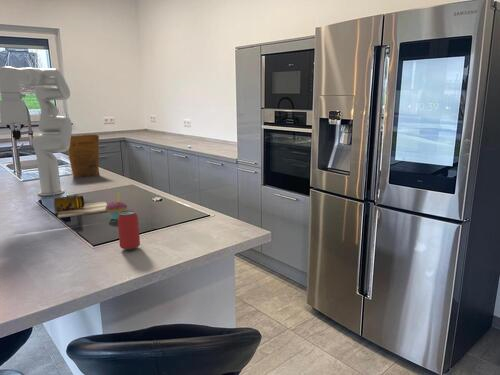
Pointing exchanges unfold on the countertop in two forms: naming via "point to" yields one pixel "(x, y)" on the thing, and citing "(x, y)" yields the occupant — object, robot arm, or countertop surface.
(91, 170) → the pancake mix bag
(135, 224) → the beer can
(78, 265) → the countertop surface
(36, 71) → the robot arm
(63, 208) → the condiment
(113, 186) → the countertop surface
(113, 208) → the cupcake
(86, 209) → the cutting board
